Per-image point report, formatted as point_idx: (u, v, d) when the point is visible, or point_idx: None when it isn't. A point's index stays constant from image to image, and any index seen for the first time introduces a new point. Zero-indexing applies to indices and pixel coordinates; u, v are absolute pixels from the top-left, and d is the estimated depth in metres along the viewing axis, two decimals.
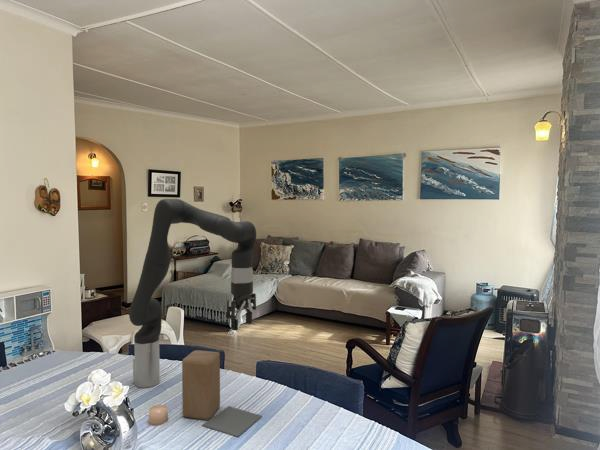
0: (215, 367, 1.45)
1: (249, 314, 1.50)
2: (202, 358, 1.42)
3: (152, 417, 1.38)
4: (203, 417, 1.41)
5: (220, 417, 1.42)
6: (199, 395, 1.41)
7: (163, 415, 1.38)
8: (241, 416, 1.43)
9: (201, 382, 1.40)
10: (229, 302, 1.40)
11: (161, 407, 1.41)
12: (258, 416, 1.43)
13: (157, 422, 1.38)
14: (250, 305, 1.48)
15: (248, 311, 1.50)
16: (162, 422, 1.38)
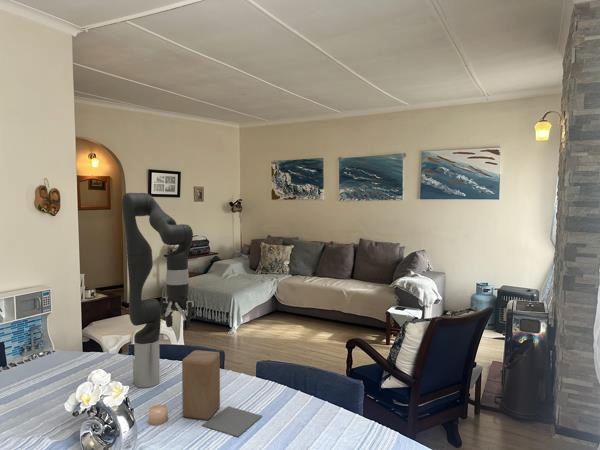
0: (215, 367, 1.45)
1: (171, 317, 1.51)
2: (202, 358, 1.42)
3: (152, 417, 1.38)
4: (203, 417, 1.41)
5: (220, 417, 1.42)
6: (199, 395, 1.41)
7: (163, 415, 1.38)
8: (241, 416, 1.43)
9: (201, 382, 1.40)
10: (192, 303, 1.45)
11: (161, 407, 1.41)
12: (258, 416, 1.43)
13: (157, 422, 1.38)
14: None
15: (169, 315, 1.51)
16: (162, 422, 1.38)
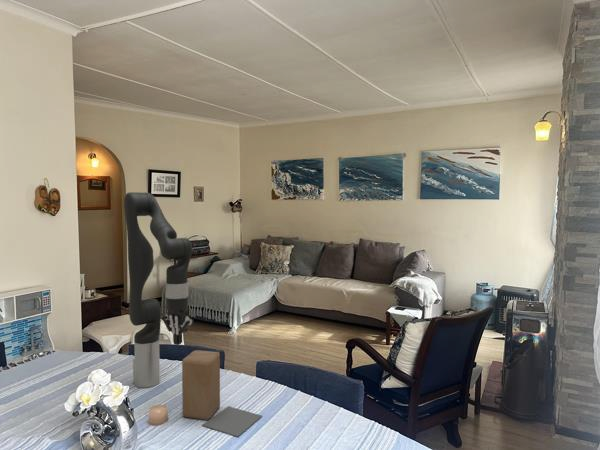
0: (215, 367, 1.45)
1: None
2: (202, 358, 1.42)
3: (152, 417, 1.38)
4: (203, 417, 1.41)
5: (220, 417, 1.42)
6: (199, 395, 1.41)
7: (163, 415, 1.38)
8: (241, 416, 1.43)
9: (201, 382, 1.40)
10: (190, 322, 1.46)
11: (161, 407, 1.41)
12: (258, 416, 1.43)
13: (157, 422, 1.38)
14: None
15: None
16: (162, 422, 1.38)
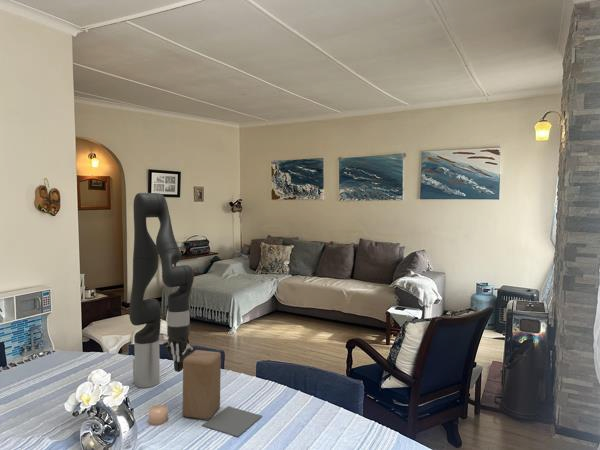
0: (216, 367, 1.45)
1: None
2: (203, 358, 1.42)
3: (152, 417, 1.38)
4: (203, 417, 1.41)
5: (220, 417, 1.42)
6: (200, 395, 1.41)
7: (163, 415, 1.38)
8: (241, 416, 1.43)
9: (201, 382, 1.40)
10: (191, 350, 1.47)
11: (161, 407, 1.41)
12: (258, 416, 1.43)
13: (157, 422, 1.38)
14: None
15: None
16: (162, 422, 1.38)
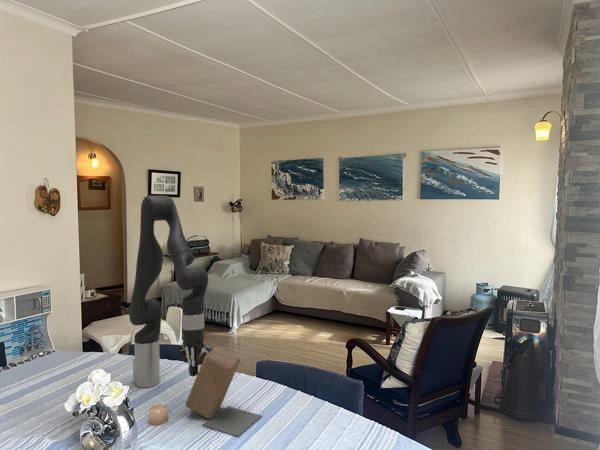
0: (232, 372, 1.43)
1: None
2: (224, 361, 1.41)
3: (152, 417, 1.38)
4: (204, 415, 1.41)
5: (220, 417, 1.42)
6: (209, 394, 1.40)
7: (163, 415, 1.38)
8: (241, 416, 1.43)
9: (215, 383, 1.39)
10: (206, 354, 1.43)
11: (161, 407, 1.41)
12: (258, 416, 1.43)
13: (157, 422, 1.38)
14: None
15: None
16: (162, 422, 1.38)
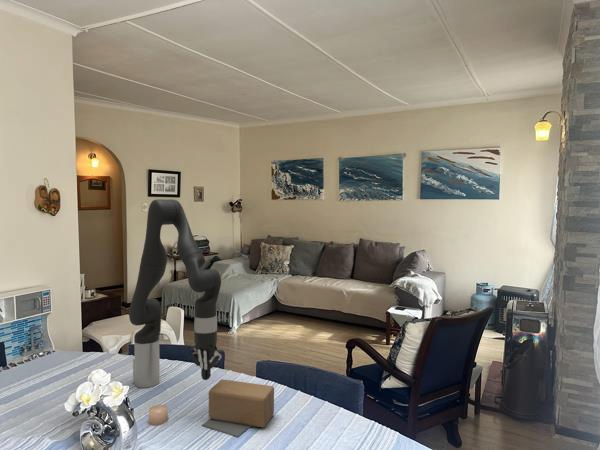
0: None
1: None
2: (267, 414, 1.37)
3: (152, 417, 1.38)
4: (210, 413, 1.40)
5: None
6: (230, 413, 1.38)
7: (163, 415, 1.38)
8: None
9: (243, 417, 1.37)
10: (219, 358, 1.41)
11: (161, 407, 1.41)
12: None
13: (157, 422, 1.38)
14: None
15: None
16: (162, 422, 1.38)
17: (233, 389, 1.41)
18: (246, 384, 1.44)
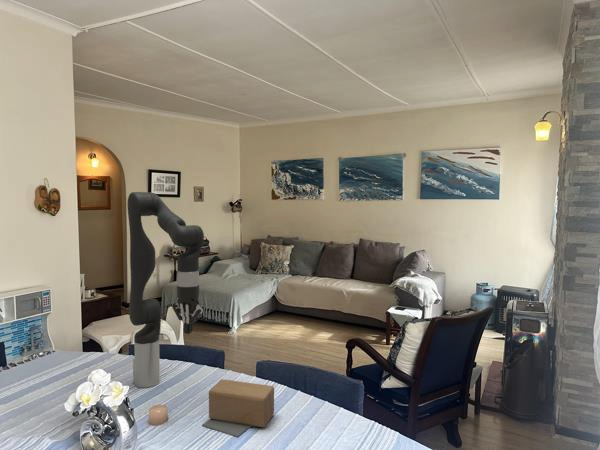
0: None
1: None
2: (267, 414, 1.37)
3: (152, 417, 1.38)
4: (210, 413, 1.40)
5: None
6: (230, 413, 1.38)
7: (162, 415, 1.38)
8: None
9: (243, 416, 1.37)
10: (201, 311, 1.44)
11: (161, 407, 1.41)
12: None
13: (157, 422, 1.38)
14: None
15: None
16: (162, 422, 1.38)
17: (233, 389, 1.41)
18: (246, 384, 1.45)
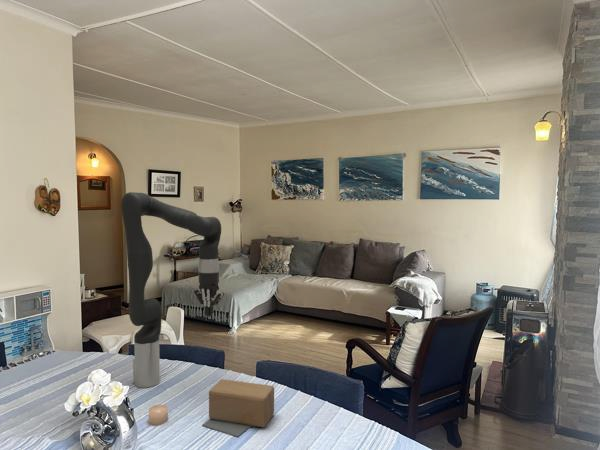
0: None
1: None
2: (267, 414, 1.37)
3: (152, 417, 1.38)
4: (210, 413, 1.40)
5: None
6: (230, 413, 1.38)
7: (163, 415, 1.38)
8: None
9: (244, 416, 1.37)
10: (221, 295, 1.57)
11: (161, 407, 1.41)
12: None
13: (157, 422, 1.38)
14: None
15: None
16: (162, 422, 1.38)
17: (233, 389, 1.41)
18: (246, 384, 1.45)
